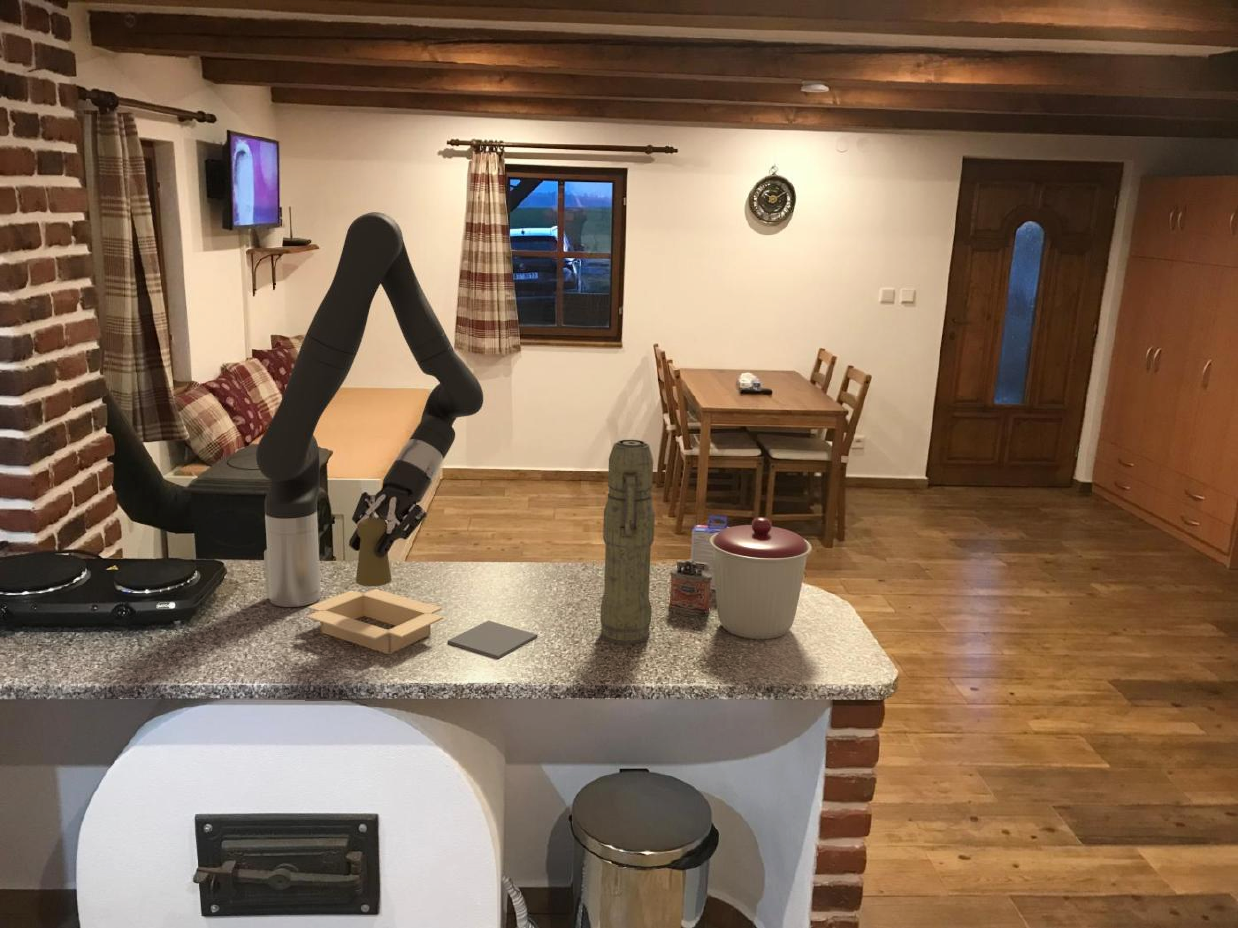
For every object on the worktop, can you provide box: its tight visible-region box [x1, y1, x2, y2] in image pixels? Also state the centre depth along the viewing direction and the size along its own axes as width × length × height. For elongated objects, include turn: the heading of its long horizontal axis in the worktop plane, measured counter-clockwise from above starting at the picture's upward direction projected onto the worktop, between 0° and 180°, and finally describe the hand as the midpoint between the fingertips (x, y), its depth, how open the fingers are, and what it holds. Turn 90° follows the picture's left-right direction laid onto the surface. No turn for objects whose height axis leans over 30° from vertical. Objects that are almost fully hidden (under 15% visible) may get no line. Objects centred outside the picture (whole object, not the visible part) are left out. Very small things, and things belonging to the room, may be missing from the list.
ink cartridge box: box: [690, 514, 731, 591], centre depth 198 cm, size 10×6×14 cm, turn 78°
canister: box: [710, 516, 813, 640], centre depth 176 cm, size 18×18×21 cm
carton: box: [305, 588, 444, 655], centre depth 171 cm, size 22×16×4 cm
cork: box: [355, 518, 392, 587], centre depth 168 cm, size 6×6×11 cm
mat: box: [447, 620, 538, 660], centre depth 170 cm, size 11×11×1 cm
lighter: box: [668, 558, 712, 616], centre depth 185 cm, size 8×3×10 cm, turn 68°
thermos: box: [599, 439, 656, 645], centre depth 170 cm, size 9×12×35 cm
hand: (365, 551), depth 167 cm, fingers closed on cork, 5 cm apart
